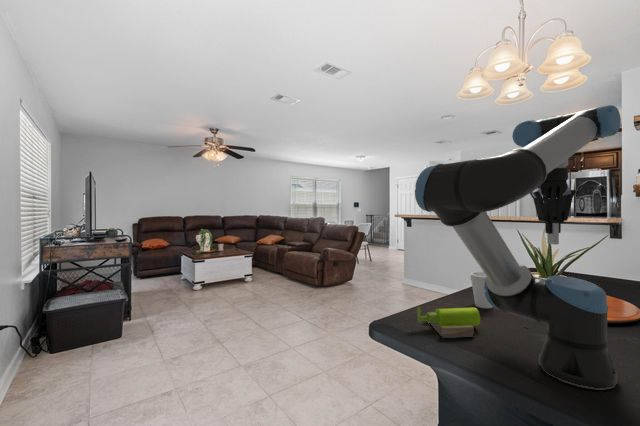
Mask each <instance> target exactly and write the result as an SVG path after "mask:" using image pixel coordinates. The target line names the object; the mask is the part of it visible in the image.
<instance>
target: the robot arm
mask: <svg viewBox="0 0 640 426" xmlns="http://www.w3.org/2000/svg"><path fill="white" fill-rule="evenodd" d="M621 122H622V119H621V114H620V110H619V109H618V108H617V106H615V105H611V104H610V105H609V104H608V105H603V106H596V107H594V108H593V107H592V108H590V109H585V110H581V111H577V112H573V113H572V112H571V113H568V114H562V115H551V116H547V117H543V118H541V119H539V120H534V119H531V120H524V121H521V122H519V123H518V124H517V125H516V126H515V127H514V128H513V131H512V140H513V142H514V143H515V145H516V146H518V147H521V148H514V149H511V150H510V151H507V152H505V153H503V154H500V155H495V156H490V157H482V158H475V159H470V160H464V161H463V160H462V161H457V162H456V161H455V162H450V163H438V164H437V163H436V165H431V166H428V167H426V168H424V169H423V170H422V171H421V172H420V173H419V175H418V176H417V179H416V181H415V185H414V186H415V189H414V198H415V201H416V205H418V207H419V208H420V209H422V210H423V211H425V212H428V213H431V212H433V213H434V214H435V215H436V216H437V218H438V219H439V220H440V222H441V223H442V224H443V225H444V226H446V227H452V228H453V229H454V231H455V233H456V234H457V236H458V237H459V238H460V240H461V241H462V243H463V244H464V245H465V247H466V249H467V250H468V251H469V253H470V254H471V256H472V257H473V258H474V260H475V262H476V264H478V265H479V267H480V269H481V270H482V272H484V273H485V274H486V276H487V277H486V280H485V284H484V290H486V292H485V296H486V299H487V301H488V302H489V303H490V304H491V305H492V306H493V307H492V308H494V309H496V310H499V311H501V312H504V313H506V314H507V313H508V314H512V315H514V316H517V317H520V318H525V319H527V320H531V321H536V322H537V323H540V324H544V325H546V337H545V340H544V343H543V346H542V349H541V351H540V353H539V355H538V366H539V365H540V366H541V368H542V369H544V370H545V371H546V372H547V373H549V374H551V375H553V376H555V377H557V378H560V379H562V380H565V381H568V382H571V383H574V384H578V385H583V386H588V387H594V388H606V387H613V386H615V385H616V384H617V385H618V373H617V371H616V369H615V367H614V366H615V365H614V363H613V361H612V358H611V356H610V354H609V351H608V313H609V306H608V301H607V298H608V297H607V293H606V292H605V290H604V289H603V288H602V287H600V285H597V284H595V283H593V282H590V281H587V280H585V279H581V278H576V277H573V276H564V275H550V276H548V277H547V278H546V279H545V278H542V277H541V278H540V277H535V276H534V275H533V273H532V272H531V271H530V269H529V268H528V267H527V266H526V265H525V264H523V263H520V262H518V261H517V259H516V258H515V256H514V255H513V253H512V252H511V249H509V247H508V245H507V244H506V242H505V240H504V239H503V237H502V235H501V233H500V232H499V231H498V229H497V228H496V226H495V225H494V223H493V221H492V220H491V218H490V217H489V215H488V213H487V212H491V211H495V210H497V209H501V208H504V207H506V206H509V205H510V204H513V203H515V202H517V201H519V200H521V199H523V198H524V197H526V196H528V195H530V196H531V198H532V199H533V203H534V207H535V211H536V215H537V219H538V221H539V222H542V223H544V227H545V231H544V232H545V234H547V239H546V240H547V244H550V245H560V242H559V241H560V239H559V236H560V234H561V231H562V230H561V229H562V227H561V226H562V224H564V223H565V222H566V221H567V222H568V219H569V215H570V210H571V206H572V203H573V198H574V196H575V194H576V193H577V191H576V189H571V188H570V187H569V185H568V182H567V181H568V179H569V168H568V166H569V158H571V157H572V156H573V155H575V154H576V153H578V152H579V151H580V150H581V149H583V148H584V147H586V146H587V145H588V144H590V142H592V141H594V140H595V139H604V138H607V137H611V136H615V135H616V134H617V133H618V132H619V130H620V128H621V124H622V123H621ZM540 366H539V367H540ZM541 368H540V369H541ZM542 369H541V370H542Z"/></svg>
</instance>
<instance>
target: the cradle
mask: <svg viewBox="0 0 640 426" xmlns="http://www.w3.org/2000/svg"><path fill="white" fill-rule="evenodd" d="M427 313H435V311H430V312H429V311H427V312H426V314H427ZM474 328H475V327H474V325H473V326H472V325H462V326H441V333H442V334H474V333H475V331H474ZM474 335H475V334H474Z"/></svg>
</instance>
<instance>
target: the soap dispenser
mask: <svg viewBox="0 0 640 426" xmlns="http://www.w3.org/2000/svg"><path fill="white" fill-rule="evenodd" d="M421 312H422V308H421V307H420V306H419V305H418V306H417V311H416V316H417V322H418V323H419V324H422V322H427V324H429V323H437V324H438V325H439V326H440V327H441V326H462V325H472V326H473V327H474V326H479V325H480V323H481V315H480V312H479V310H478V307H477V308H476V306H473V307H472V306H471V307H451V308H450V307H448V308H447V307H445V308H436V309H435V311H434V312H435V313H427V312H426V315H422V314H421Z"/></svg>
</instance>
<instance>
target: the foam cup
mask: <svg viewBox="0 0 640 426" xmlns="http://www.w3.org/2000/svg"><path fill="white" fill-rule="evenodd" d="M486 277H487V276H486V274H485V273H484V272H483V271H471V272H470V280H471V281H470V282H471V287H472V293H473V298H474V305H475V307H477V308H480V309H492V308H494V307H493V306H492V305H491V304H490V303H489V302H488V301H487V299H486V296H485V292H486V290H484V284H485V280H486Z"/></svg>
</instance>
